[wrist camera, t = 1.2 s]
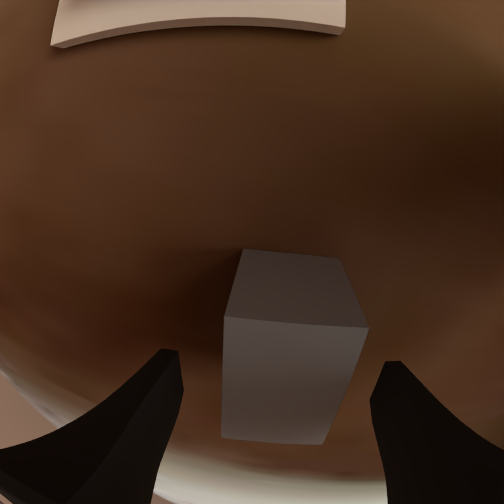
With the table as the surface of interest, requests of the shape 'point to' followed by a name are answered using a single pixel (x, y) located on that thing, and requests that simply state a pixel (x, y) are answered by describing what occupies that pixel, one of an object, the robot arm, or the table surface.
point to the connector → (288, 347)
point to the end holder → (189, 16)
